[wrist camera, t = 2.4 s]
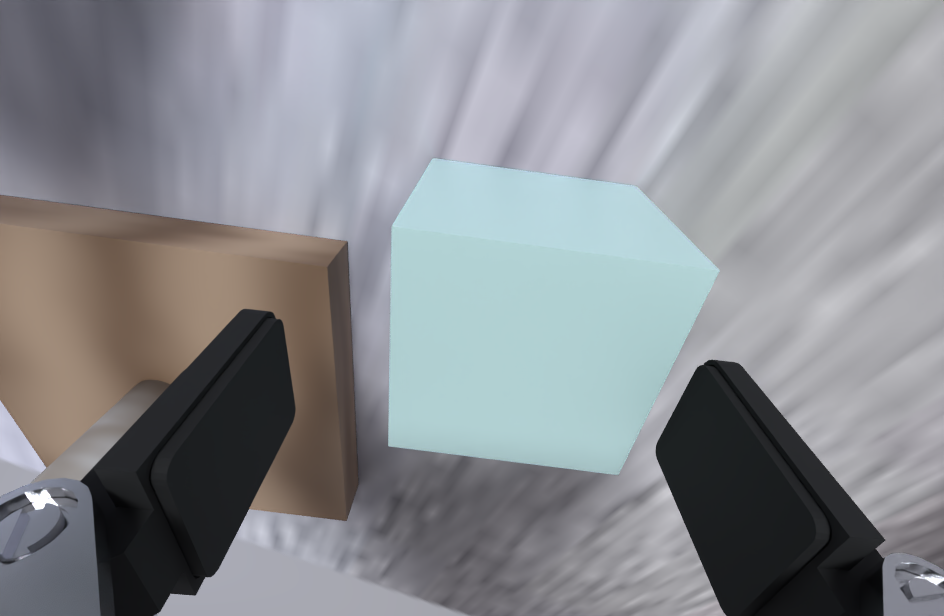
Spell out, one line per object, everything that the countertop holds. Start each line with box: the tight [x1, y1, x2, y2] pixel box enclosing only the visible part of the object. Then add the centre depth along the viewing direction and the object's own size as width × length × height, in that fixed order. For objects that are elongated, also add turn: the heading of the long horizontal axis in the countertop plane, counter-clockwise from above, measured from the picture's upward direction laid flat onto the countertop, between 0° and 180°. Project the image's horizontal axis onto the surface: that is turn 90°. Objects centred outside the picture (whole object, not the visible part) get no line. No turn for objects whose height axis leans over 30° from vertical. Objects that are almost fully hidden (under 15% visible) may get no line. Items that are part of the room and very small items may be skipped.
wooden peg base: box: [0, 195, 358, 521], centre depth 15 cm, size 14×14×6 cm
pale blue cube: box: [388, 158, 720, 475], centre depth 12 cm, size 6×6×6 cm
